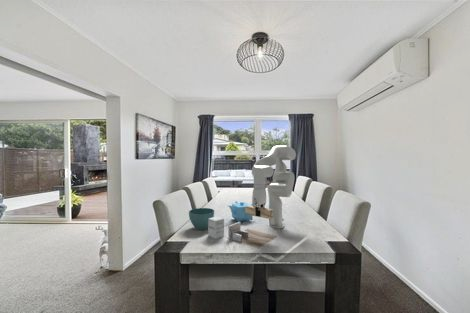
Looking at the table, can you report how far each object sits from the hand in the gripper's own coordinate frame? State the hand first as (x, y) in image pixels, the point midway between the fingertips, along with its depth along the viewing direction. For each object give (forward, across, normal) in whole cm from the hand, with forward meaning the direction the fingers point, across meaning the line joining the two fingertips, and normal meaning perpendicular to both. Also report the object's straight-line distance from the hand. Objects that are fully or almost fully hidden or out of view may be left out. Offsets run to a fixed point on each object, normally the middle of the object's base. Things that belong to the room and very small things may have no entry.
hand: (259, 215), depth 142 cm
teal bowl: (+15, +10, -43) cm, 47 cm away
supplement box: (+14, +18, -21) cm, 31 cm away
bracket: (+13, +12, -7) cm, 19 cm away
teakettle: (+15, -23, -32) cm, 43 cm away
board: (+14, +6, -2) cm, 16 cm away
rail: (+1, 0, -1) cm, 1 cm away
